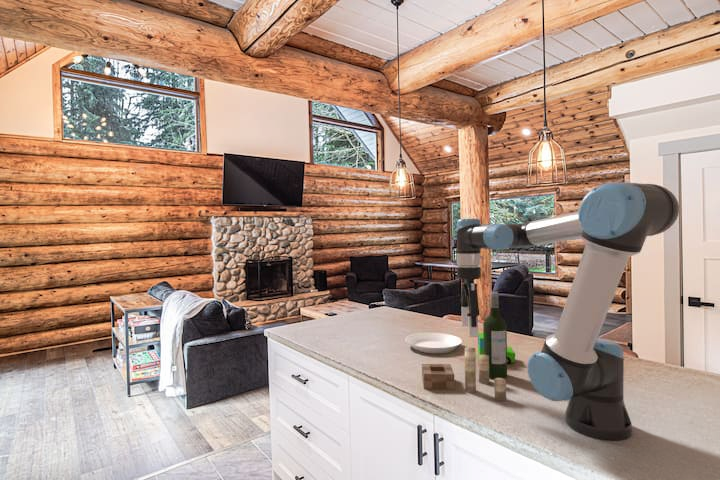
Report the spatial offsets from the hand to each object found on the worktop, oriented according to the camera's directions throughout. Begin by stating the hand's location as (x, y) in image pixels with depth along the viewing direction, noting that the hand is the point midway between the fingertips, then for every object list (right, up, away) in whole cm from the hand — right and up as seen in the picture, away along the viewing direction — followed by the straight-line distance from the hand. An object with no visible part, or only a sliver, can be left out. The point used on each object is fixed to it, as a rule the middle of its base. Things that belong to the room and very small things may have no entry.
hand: (469, 331), depth 130 cm
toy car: (+19, -19, +29) cm, 40 cm away
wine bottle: (+13, -19, +13) cm, 27 cm away
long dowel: (0, -20, 0) cm, 20 cm away
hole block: (-9, -20, +7) cm, 23 cm away
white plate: (-3, -19, +50) cm, 53 cm away
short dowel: (+8, -20, -6) cm, 22 cm away
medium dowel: (+7, -19, +8) cm, 22 cm away
